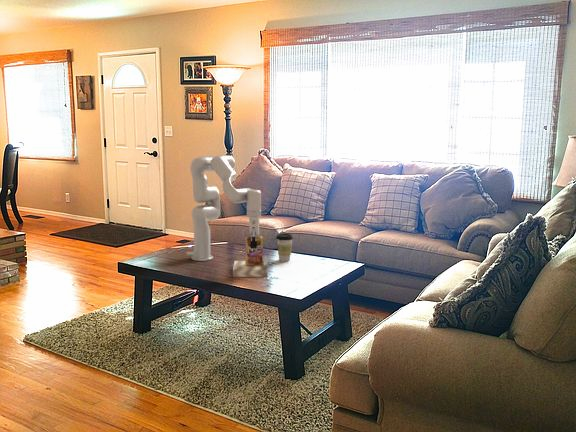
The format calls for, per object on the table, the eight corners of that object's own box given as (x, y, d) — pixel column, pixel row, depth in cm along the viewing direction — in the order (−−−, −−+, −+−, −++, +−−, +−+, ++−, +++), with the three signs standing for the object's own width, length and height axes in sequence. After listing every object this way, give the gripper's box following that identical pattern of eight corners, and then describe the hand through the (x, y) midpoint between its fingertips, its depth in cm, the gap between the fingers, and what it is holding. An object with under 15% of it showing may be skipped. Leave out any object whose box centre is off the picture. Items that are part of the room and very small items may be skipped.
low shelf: (232, 276, 298) (232, 264, 297) (234, 267, 316) (234, 256, 315) (267, 276, 299) (267, 264, 298) (267, 267, 317) (267, 256, 316)
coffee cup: (273, 261, 331) (273, 236, 329) (279, 257, 340) (280, 233, 338) (289, 263, 328) (289, 237, 325) (295, 259, 337) (295, 234, 334)
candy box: (246, 265, 304) (246, 237, 302) (245, 263, 308) (245, 236, 306) (262, 265, 306) (262, 237, 303) (261, 263, 310) (261, 235, 308)
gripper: (260, 216, 294) (260, 250, 297) (261, 210, 311) (261, 243, 314) (246, 215, 294) (246, 250, 297) (247, 210, 311) (247, 243, 314)
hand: (253, 246), depth 305 cm, fingers closed on candy box, 4 cm apart
